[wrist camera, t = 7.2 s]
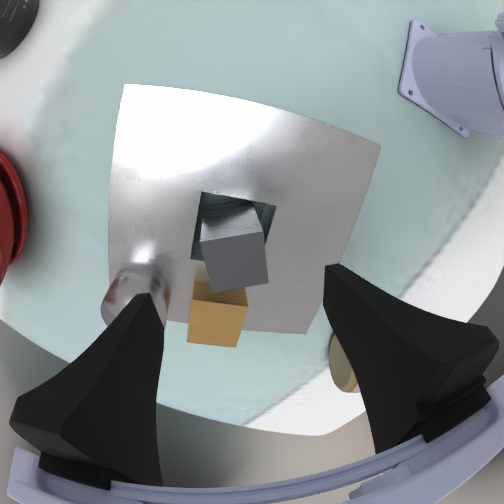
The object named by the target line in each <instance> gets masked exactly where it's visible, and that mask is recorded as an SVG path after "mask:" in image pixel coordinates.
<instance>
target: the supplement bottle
mask: <svg viewBox="0 0 504 504" xmlns="http://www.w3.org/2000/svg"><path fill="white" fill-rule="evenodd" d="M37 3H38V2H37V0H0V57H2V56H4V55H6V54H7V53H8V52H10V51H11V50H12V49H13V48H14V47H15V46H16V45H17V44H18V43H19V42H20V41H21V39H22V38H23V37H24V35H25V34H26V32H27V31H28V29H29V28H30V26H31V24H32V22H33V20H34V17H35V14H36V11H37Z"/></svg>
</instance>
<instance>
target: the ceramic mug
mask: <svg viewBox="0 0 504 504" xmlns="http://www.w3.org/2000/svg"><path fill="white" fill-rule="evenodd" d="M329 365H330V371H331V376H332V379H333V381H334V383H335V385H336V386H337V387H338V388H339V389H340V390H341V391H343V392H349V393H358V392H360V389H359V386H358V383H357V380H356V377H355V374H354V371H353V369H352V367H351V365H350V362H349V361H348V359H347V357H346V355H345V353H344V351H343V349H342V347H341V345H340V343H339V341H338V339H337V337H336V335H335V334H334V336H333V338H332V340H331V344H330V349H329Z"/></svg>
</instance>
